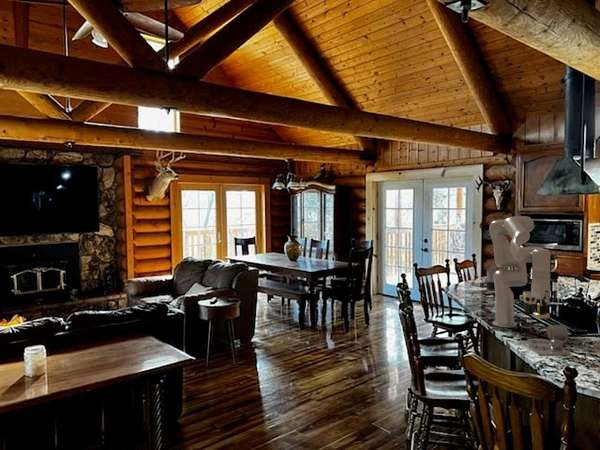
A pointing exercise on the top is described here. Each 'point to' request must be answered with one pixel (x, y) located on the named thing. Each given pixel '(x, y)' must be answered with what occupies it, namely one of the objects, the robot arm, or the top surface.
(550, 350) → the carrier
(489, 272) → the milk frother
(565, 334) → the ceramic mug
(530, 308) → the character mug
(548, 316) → the brass door knob
